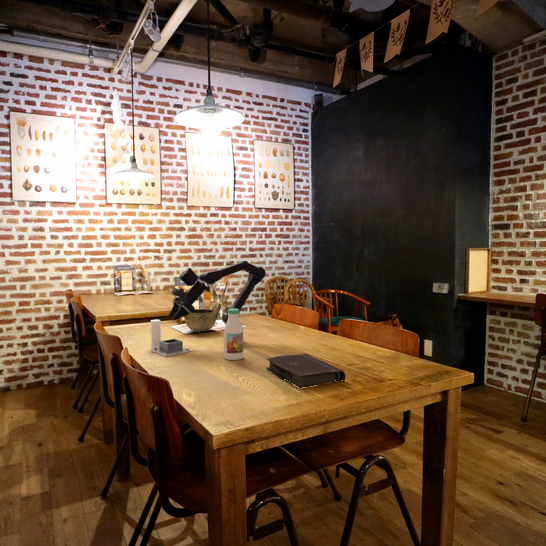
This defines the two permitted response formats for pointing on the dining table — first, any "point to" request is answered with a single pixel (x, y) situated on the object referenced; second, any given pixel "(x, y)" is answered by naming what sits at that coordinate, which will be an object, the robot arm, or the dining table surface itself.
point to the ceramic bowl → (202, 318)
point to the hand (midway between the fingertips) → (170, 318)
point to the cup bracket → (170, 347)
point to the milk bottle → (233, 336)
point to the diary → (304, 370)
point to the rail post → (155, 333)
